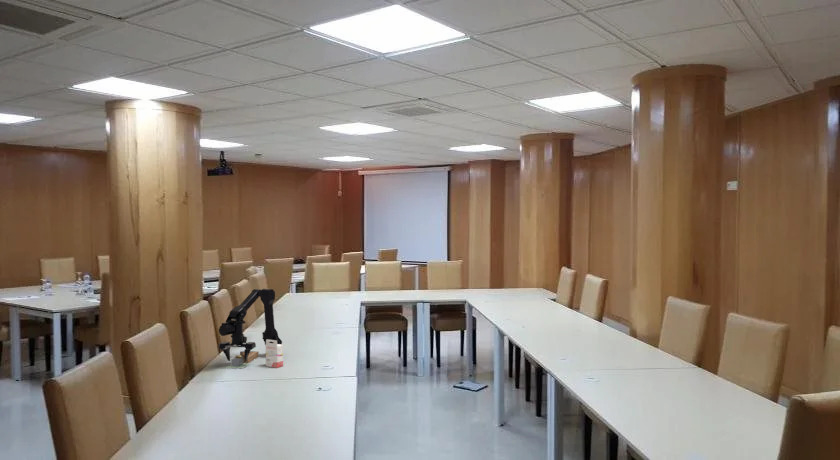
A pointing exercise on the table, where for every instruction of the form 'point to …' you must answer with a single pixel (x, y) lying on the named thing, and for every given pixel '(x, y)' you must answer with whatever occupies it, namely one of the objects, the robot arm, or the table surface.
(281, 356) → the ink cartridge box
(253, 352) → the body
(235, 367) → the mat
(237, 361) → the lever cap
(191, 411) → the table surface
